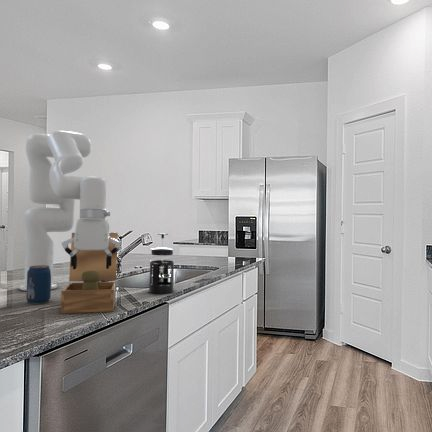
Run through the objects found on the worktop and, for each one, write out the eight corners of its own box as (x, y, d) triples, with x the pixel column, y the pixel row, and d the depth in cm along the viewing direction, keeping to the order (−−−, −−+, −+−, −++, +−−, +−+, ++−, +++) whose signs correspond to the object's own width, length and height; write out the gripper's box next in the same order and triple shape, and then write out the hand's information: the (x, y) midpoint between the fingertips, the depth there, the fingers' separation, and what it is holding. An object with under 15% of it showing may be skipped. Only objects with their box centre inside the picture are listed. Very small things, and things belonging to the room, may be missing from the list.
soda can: (52, 300, 147) (53, 265, 147) (47, 304, 140) (48, 267, 140) (29, 300, 145) (30, 265, 145) (23, 304, 138) (24, 267, 138)
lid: (117, 233, 150) (118, 233, 151) (71, 232, 145) (72, 232, 146) (116, 280, 148) (116, 280, 148) (69, 281, 143) (69, 281, 143)
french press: (155, 288, 174) (156, 232, 174) (177, 290, 173) (179, 233, 173) (142, 294, 162) (144, 233, 162) (166, 295, 161) (168, 234, 161)
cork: (92, 307, 134) (93, 272, 134) (75, 306, 135) (76, 271, 135) (104, 304, 140) (105, 270, 140) (87, 302, 141) (88, 269, 141)
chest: (113, 311, 133) (113, 289, 133) (60, 313, 128) (61, 291, 128) (115, 301, 148) (116, 281, 148) (68, 303, 143) (69, 282, 143)
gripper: (121, 215, 143) (120, 266, 143) (64, 214, 138) (63, 267, 138) (121, 215, 136) (119, 269, 136) (60, 214, 131) (59, 270, 131)
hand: (91, 268), depth 137 cm, fingers open, 9 cm apart
